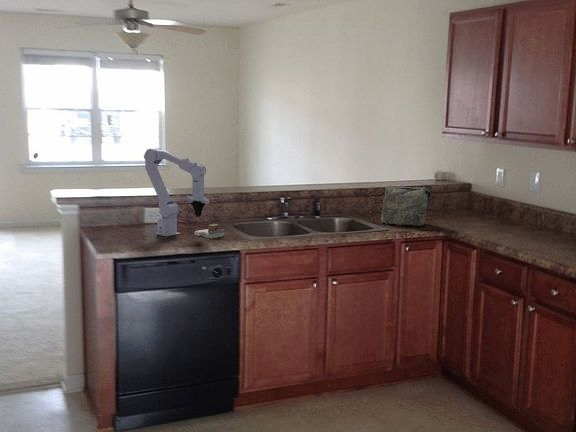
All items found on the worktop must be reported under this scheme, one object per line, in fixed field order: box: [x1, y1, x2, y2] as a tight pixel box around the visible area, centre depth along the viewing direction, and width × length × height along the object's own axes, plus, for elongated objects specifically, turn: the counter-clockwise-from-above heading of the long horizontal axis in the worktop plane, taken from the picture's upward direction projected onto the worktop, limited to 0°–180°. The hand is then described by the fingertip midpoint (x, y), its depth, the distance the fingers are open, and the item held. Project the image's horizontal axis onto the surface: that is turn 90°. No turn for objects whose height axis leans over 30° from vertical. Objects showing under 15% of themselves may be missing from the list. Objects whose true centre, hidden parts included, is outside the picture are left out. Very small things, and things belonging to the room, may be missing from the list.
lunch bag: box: [380, 185, 431, 227], centre depth 384 cm, size 26×18×22 cm
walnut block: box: [207, 223, 221, 233], centre depth 333 cm, size 4×4×4 cm
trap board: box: [194, 228, 225, 240], centre depth 336 cm, size 9×12×4 cm
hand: (198, 216), depth 330 cm, fingers closed
